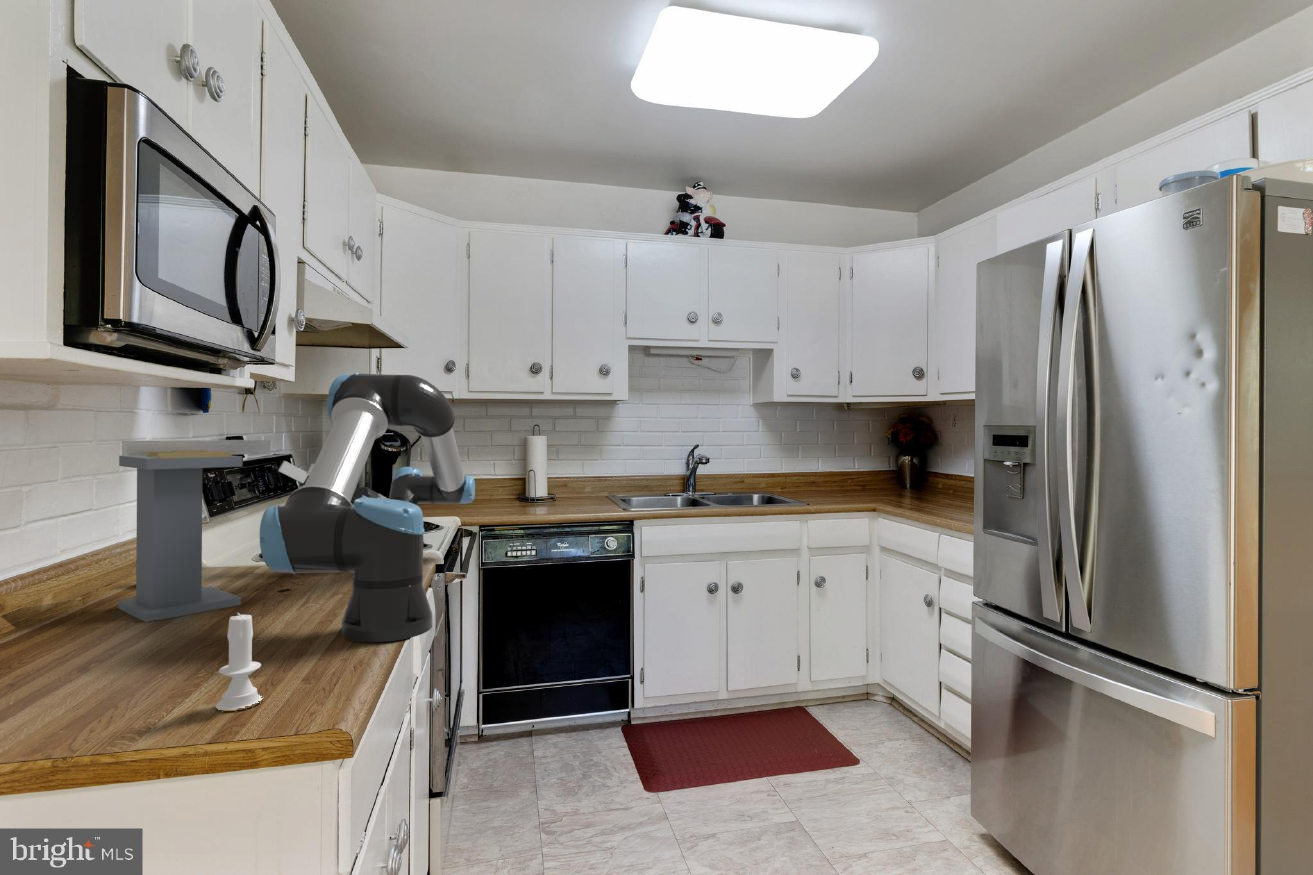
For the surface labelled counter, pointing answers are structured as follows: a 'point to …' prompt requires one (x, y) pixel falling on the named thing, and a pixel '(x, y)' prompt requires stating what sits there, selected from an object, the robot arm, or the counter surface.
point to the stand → (172, 538)
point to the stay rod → (195, 446)
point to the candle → (239, 665)
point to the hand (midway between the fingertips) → (295, 467)
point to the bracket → (188, 454)
